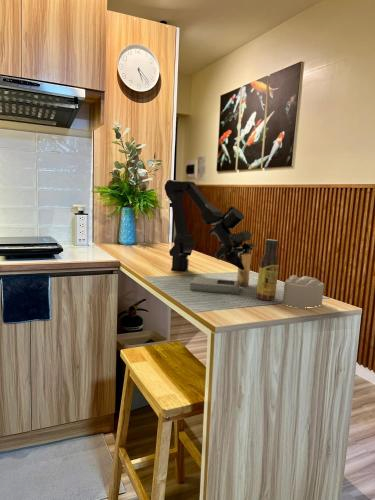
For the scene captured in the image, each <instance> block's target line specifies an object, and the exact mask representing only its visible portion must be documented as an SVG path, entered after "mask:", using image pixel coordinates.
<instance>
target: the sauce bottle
mask: <svg viewBox="0 0 375 500" xmlns="http://www.w3.org/2000/svg"><path fill="white" fill-rule="evenodd" d="M278 245H279V240H278V239H271V238H268V239H267V238H266V239H265V249H264V254H262V256H261V259H260V261H259V267H258V268H259V269H258V275H257V284H256V296H255V297H256V298H257V299H259V300H263V301H272V300H275V295H276V291H277V284H278V283H277V282H278V275H279V268H280V265H279V261H278V255H277V252H278V251H277V250H278Z"/></svg>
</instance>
